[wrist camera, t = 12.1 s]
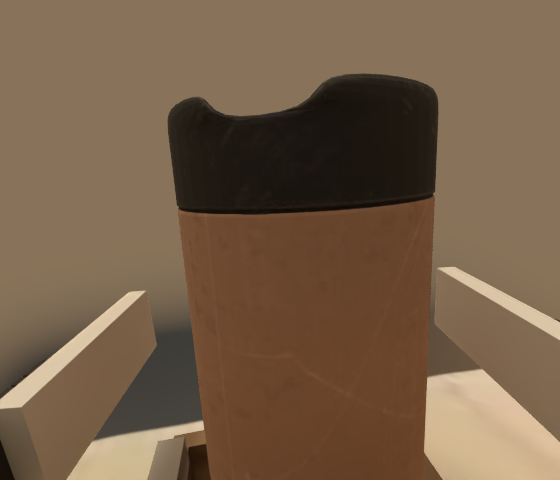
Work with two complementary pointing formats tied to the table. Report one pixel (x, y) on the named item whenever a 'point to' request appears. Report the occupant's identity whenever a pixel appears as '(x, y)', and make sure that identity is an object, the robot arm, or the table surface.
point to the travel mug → (311, 278)
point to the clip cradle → (206, 459)
